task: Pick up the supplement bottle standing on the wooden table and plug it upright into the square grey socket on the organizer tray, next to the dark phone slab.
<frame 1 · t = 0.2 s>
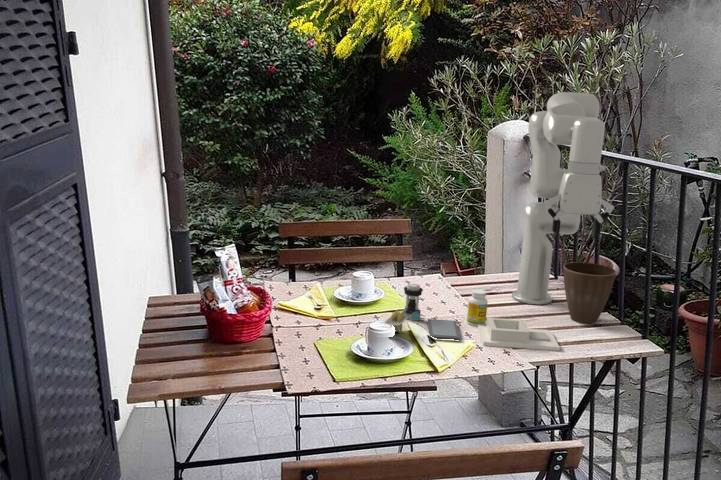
hand: (575, 235, 187), 31 cm above the table, tool pointing down, fingers open, 9 cm apart
platform: (395, 336, 198), on the table
organizer tray: (517, 339, 200), on the table
phone: (443, 331, 202), on the table
supplement bottle: (475, 324, 211), on the table
plant pot: (582, 320, 220), on the table
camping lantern: (413, 319, 211), on the table
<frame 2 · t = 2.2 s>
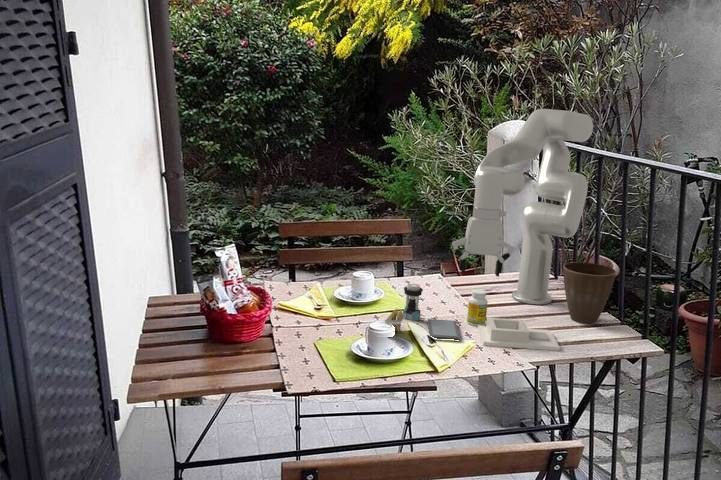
hand: (479, 273, 207), 15 cm above the table, tool pointing down, fingers open, 9 cm apart
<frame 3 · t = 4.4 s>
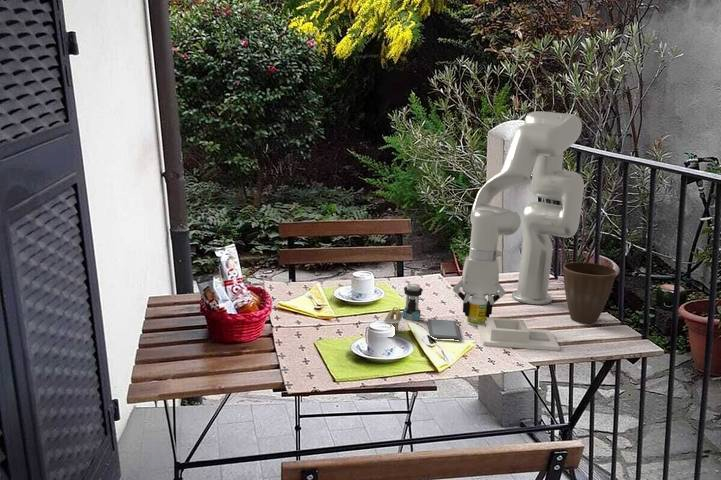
hand: (476, 315, 210), 2 cm above the table, tool pointing down, fingers closed on supplement bottle, 5 cm apart
supplement bottle: (475, 324, 211), on the table, touching gripper
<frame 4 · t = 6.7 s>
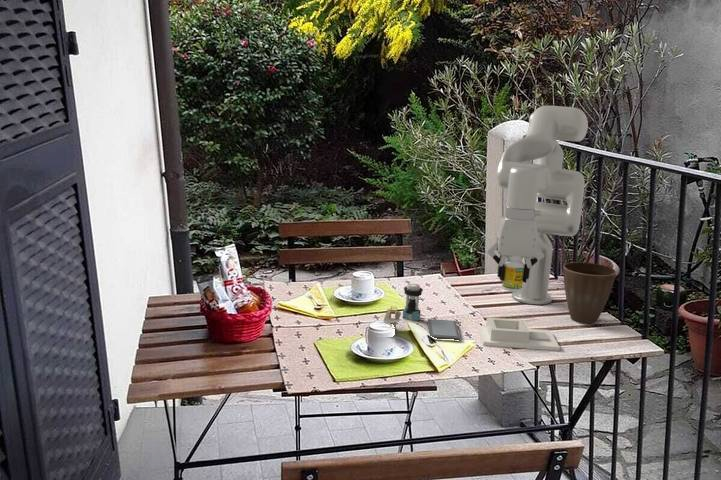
hand: (512, 279, 196), 17 cm above the table, tool pointing down, fingers closed on supplement bottle, 5 cm apart
supplement bottle: (511, 289, 197), point 14 cm above the table, touching gripper
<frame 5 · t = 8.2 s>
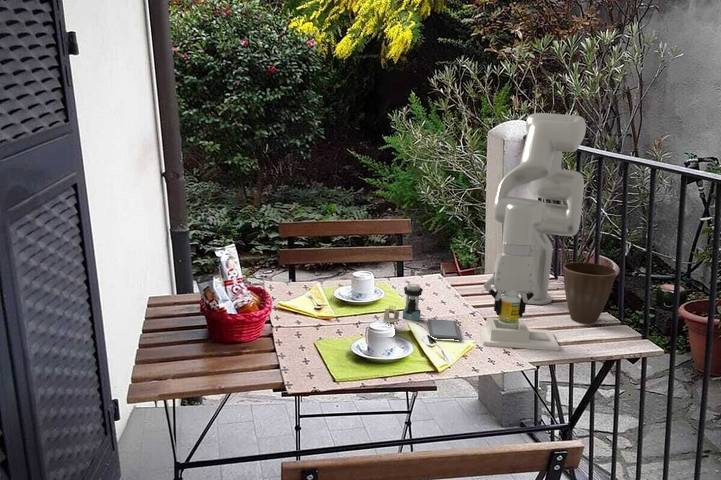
hand: (508, 313, 198), 7 cm above the table, tool pointing down, fingers closed on supplement bottle, 5 cm apart
supplement bottle: (507, 323, 199), point 4 cm above the table, touching gripper
when the fingers open (5 cm above the table, at t = 9.4 s): supplement bottle drops 2 cm, resting on organizer tray.
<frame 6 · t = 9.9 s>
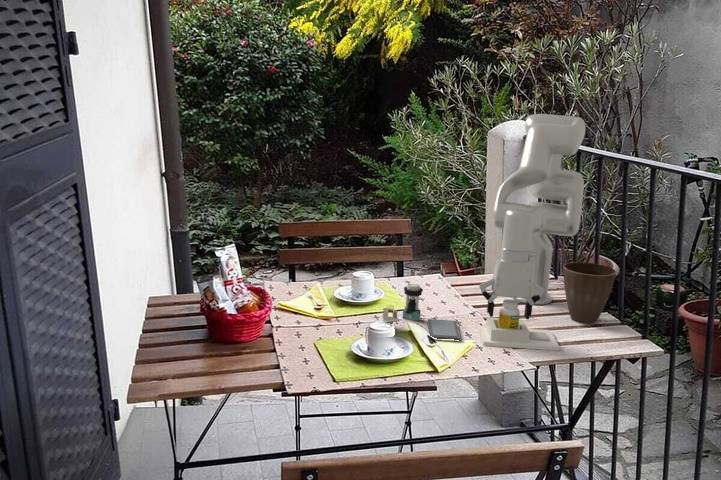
hand: (508, 316, 198), 6 cm above the table, tool pointing down, fingers open, 9 cm apart
supplement bottle: (507, 335, 200), point 1 cm above the table, touching organizer tray
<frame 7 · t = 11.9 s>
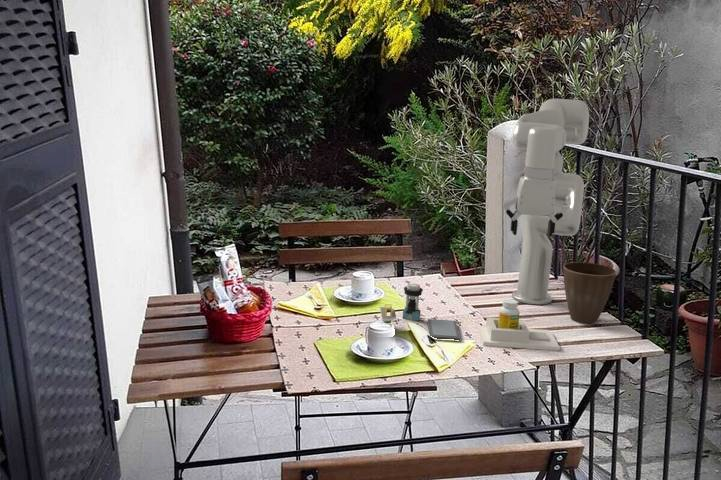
hand: (531, 234, 203), 27 cm above the table, tool pointing down, fingers open, 9 cm apart
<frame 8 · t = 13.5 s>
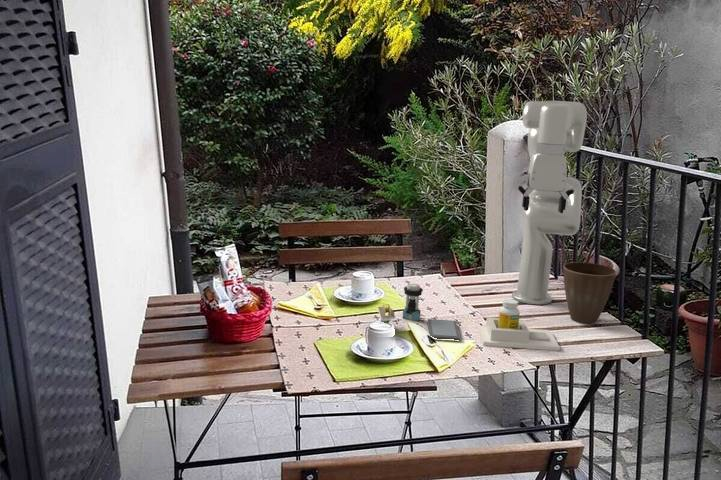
hand: (543, 211, 206), 33 cm above the table, tool pointing down, fingers open, 9 cm apart
at the end: supplement bottle 0.3 cm from the target spot on the organizer tray, point 0.8 cm above the organizer tray's base; supplement bottle tilted 0°; the gripper is holding nothing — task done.
